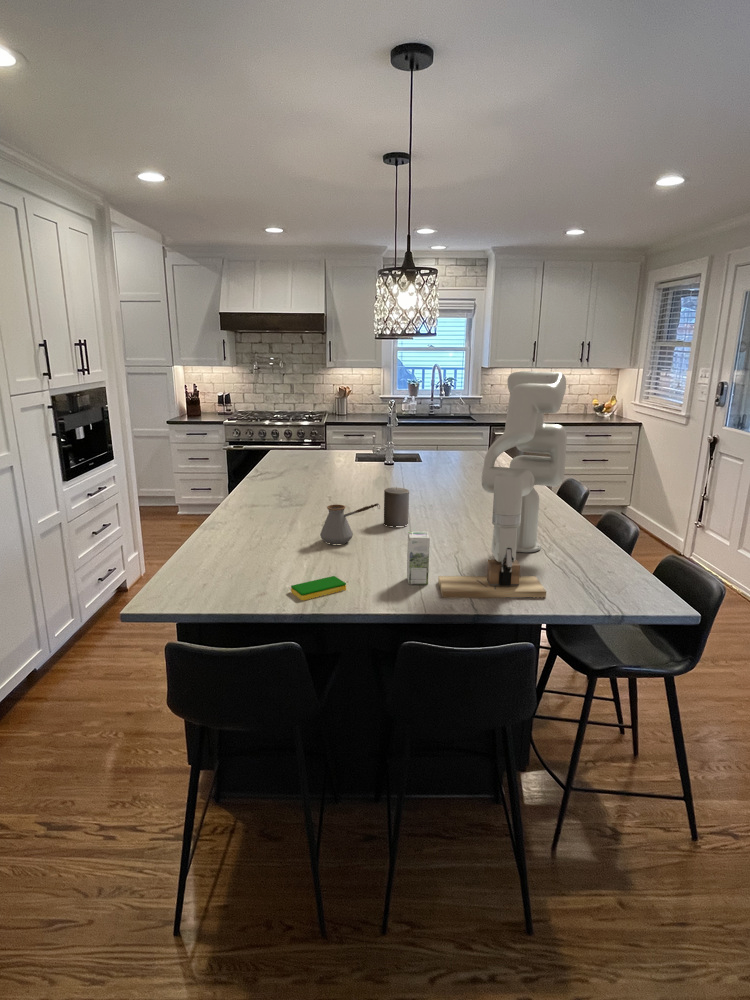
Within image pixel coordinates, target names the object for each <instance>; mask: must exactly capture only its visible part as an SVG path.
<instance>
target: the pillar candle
mask: <svg viewBox="0 0 750 1000" xmlns="http://www.w3.org/2000/svg"><path fill="white" fill-rule="evenodd" d="M409 507H410V489H408V488H405V487H398V486H395V487H388V488H385V489H384V492H383V525H384V524H385V525H387V526H393V527H396V526H405V525H407V524H408V525H409V516H410V515H409V513H410V508H409ZM385 525H384V526H385ZM387 526H386V527H387Z"/></svg>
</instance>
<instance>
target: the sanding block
mask: <svg viewBox="0 0 750 1000" xmlns="http://www.w3.org/2000/svg"><path fill="white" fill-rule="evenodd" d="M503 561H506V560H503ZM504 565H506V563H504ZM499 571H501V561H500V562H497V560H496V559H487V570H486V576H487V581H488V583H489V585H490V586H503V585H499ZM520 574H521V564H520V563H519V561H518V560H517V559H515V561H514V562H512V573H511V585H509V586H519V576H520Z"/></svg>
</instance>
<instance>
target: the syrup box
mask: <svg viewBox="0 0 750 1000" xmlns="http://www.w3.org/2000/svg"><path fill="white" fill-rule="evenodd" d="M430 542H431V541H430V536H429V532H428V531H407V560H406V562H407V563H406V579H407V582H408V585H412V586H413V585H416V586H417V585H418V586H419V585H429V574H430V573H429V569H430V568H429V567H430V566H429V565H430V544H431V543H430Z"/></svg>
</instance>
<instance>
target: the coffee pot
mask: <svg viewBox="0 0 750 1000" xmlns="http://www.w3.org/2000/svg"><path fill="white" fill-rule="evenodd" d="M375 507H377V509H378V510H380V508H381V505H380V504H379V503H374V504H370V505H368V506H364V507H361V508H359V509H356V510H354V511H351V512H348V513H344V512H345V509H346V506H345V505H344V504H343V505H342V504H330V505H327V506H326V509H327V510H328V515H327V517H326V518H325V520H324V524H323V526H322V528H321V531H320V534H319V536H320V539H321V540H323V541H324V542H325V543H326V542H327V543H330V544H344V543H346V542H347V543H349V541H350V540H351V539H352V538H353V536H354V533H353V530H352V528H351V525H350V524H349V521H348V519H347V517H349V516H352V515H354V514H359V513H362V512H364V511H368V510H369V509H373V508H375ZM327 543H326V544H327ZM347 543H346V544H347ZM344 545H345V544H344Z"/></svg>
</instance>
